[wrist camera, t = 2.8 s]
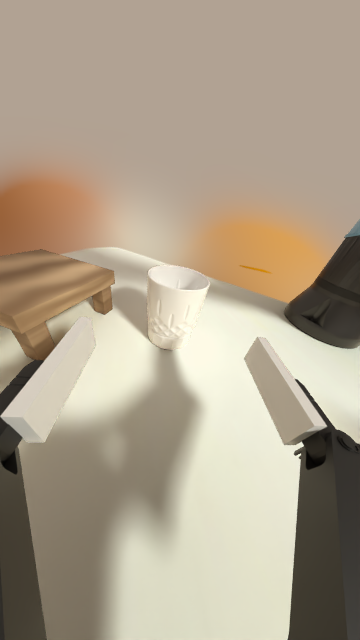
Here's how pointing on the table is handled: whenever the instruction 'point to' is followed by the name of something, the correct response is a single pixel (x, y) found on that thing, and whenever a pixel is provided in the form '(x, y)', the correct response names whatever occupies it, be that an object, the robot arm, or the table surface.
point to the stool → (46, 294)
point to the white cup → (174, 304)
